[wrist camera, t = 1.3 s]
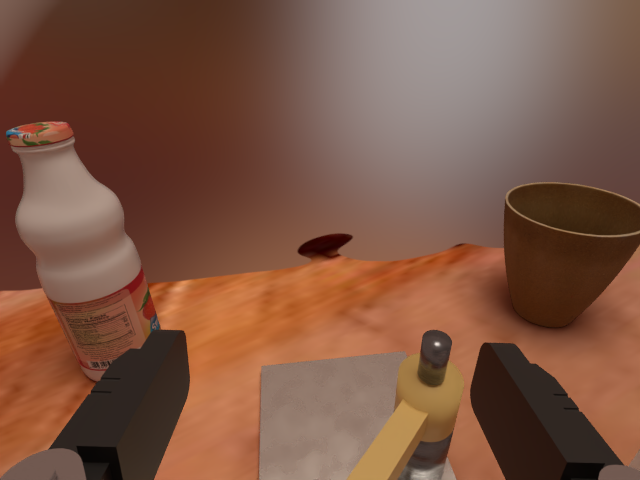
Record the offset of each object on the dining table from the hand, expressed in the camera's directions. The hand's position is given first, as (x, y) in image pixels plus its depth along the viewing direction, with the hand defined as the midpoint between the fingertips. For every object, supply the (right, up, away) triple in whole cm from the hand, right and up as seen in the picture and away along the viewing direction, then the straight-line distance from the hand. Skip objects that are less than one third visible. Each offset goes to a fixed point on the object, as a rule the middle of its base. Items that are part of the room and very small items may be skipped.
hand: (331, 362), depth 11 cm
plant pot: (+30, -6, +43) cm, 53 cm away
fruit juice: (-24, -11, +38) cm, 46 cm away
